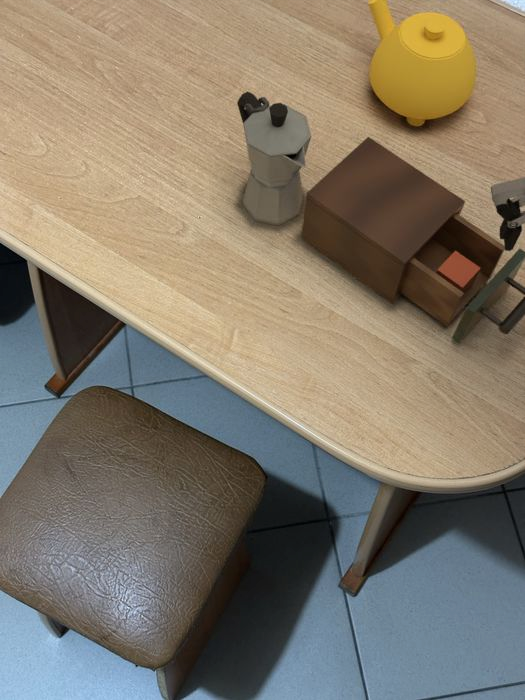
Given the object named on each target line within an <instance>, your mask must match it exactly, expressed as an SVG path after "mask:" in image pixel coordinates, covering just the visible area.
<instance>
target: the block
mask: <svg viewBox="0 0 525 700" xmlns="http://www.w3.org/2000/svg"><path fill="white" fill-rule="evenodd" d="M480 269H481V268H480V267H479V266H477V265H476V264H474V263H473V262H471V261H470V260H468V259H467V258H466V257H464V256H463V255H461V254H460V253H458V252H457V251H454V252H453V253H452V255H451V256H450V257H449V258H448V259H447V260H446V261H445V262H444V263H443V264H442V265H441V266H440V267H439V268H438V269H437V272H436V274H438V275H439V276H441V277H442V278H443V279H445V280H446V281H448V282H449V283H450V284H452V285H453V286H455V287H456V288H458V289H459V290H460V291H462V292H463V293H464V294H465V293H466V292H467V291H468V290H469V288H470V287H471V286H472V285H473V284H474V281H475V279H476V277H477V275H478V273H479V271H480Z"/></svg>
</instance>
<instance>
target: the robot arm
mask: <svg viewBox="0 0 525 700" xmlns="http://www.w3.org/2000/svg"><path fill="white" fill-rule="evenodd" d="M490 194H491V200H492V202H493V205H494V207H495V209H496V213H497V214H498V215H499V217H501V218H502V222H501V223H500V226H499V239H500V240H503V245H504V246H505V250H504V252H511V251H512V250H514V248H515V245H516V244H517V242H518V239H519V238H520V236H521V234H522V233H523V226H522V225H524V224H525V210H523V211H521V208H522V207H524V206H525V176H524V177H520V178H516V179H512V180H508V181H504V182H503V181H502V182H499V183H496V184H493V185H491V186H490Z"/></svg>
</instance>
